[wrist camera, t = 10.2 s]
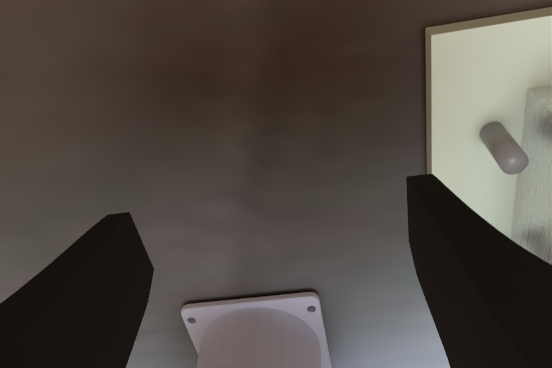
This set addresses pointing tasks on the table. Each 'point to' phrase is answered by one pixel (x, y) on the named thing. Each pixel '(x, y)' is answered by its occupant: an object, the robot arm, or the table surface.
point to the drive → (535, 177)
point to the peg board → (484, 105)
